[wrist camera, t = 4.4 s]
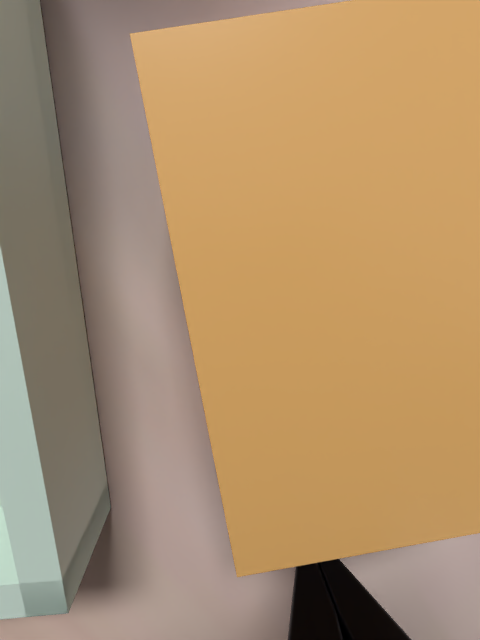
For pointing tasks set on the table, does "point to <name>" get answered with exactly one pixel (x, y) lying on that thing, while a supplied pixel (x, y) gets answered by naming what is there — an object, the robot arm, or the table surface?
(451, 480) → the orange rectangular block
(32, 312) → the tray
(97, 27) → the table surface
